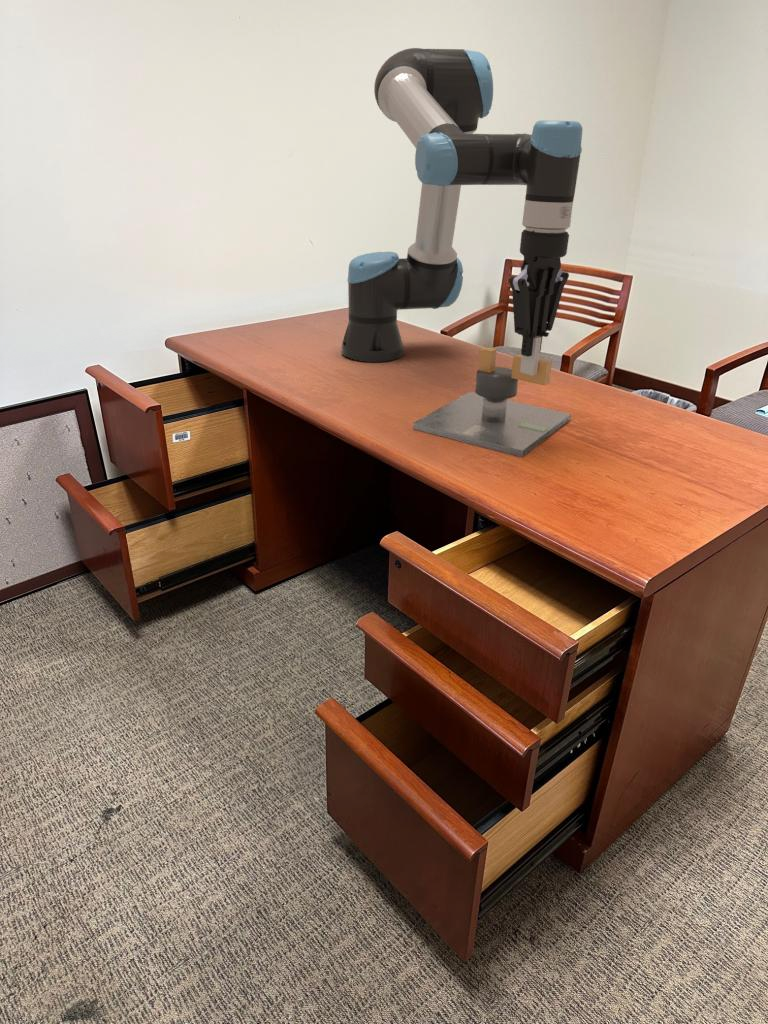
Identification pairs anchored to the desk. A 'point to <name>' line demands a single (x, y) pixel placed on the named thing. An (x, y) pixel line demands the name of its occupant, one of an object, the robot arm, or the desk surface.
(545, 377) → the cap
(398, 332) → the robot arm
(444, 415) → the post plate
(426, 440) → the desk surface
